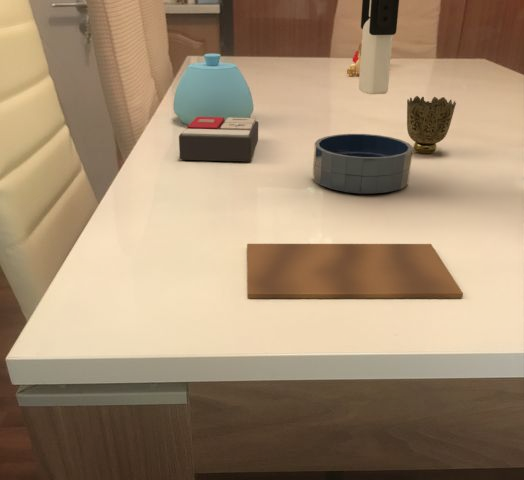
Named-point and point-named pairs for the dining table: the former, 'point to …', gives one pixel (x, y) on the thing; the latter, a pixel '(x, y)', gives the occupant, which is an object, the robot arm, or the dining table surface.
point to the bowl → (362, 163)
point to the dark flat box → (219, 139)
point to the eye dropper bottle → (374, 61)
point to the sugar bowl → (212, 91)
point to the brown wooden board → (348, 271)
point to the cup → (428, 122)
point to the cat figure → (355, 63)
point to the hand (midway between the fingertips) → (377, 30)
